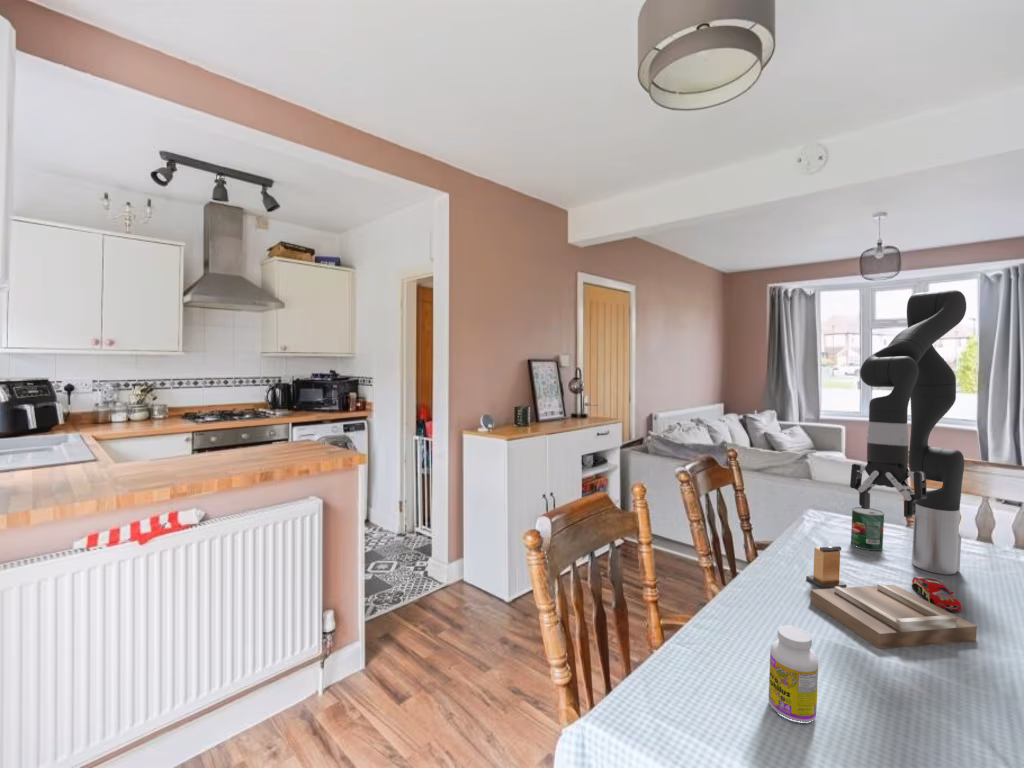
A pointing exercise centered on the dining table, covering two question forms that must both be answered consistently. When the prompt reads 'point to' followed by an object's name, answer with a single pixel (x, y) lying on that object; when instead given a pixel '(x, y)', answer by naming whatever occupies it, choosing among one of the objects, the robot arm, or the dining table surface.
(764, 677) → the dining table surface
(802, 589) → the dining table surface
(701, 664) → the dining table surface
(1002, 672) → the dining table surface
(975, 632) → the dock
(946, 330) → the robot arm
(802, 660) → the supplement bottle
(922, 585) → the race car
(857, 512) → the canned tomato
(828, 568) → the block with metal roller
